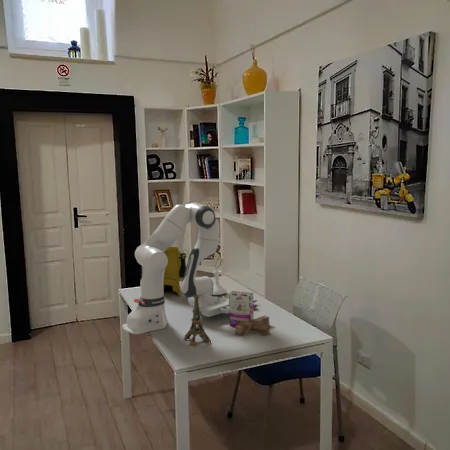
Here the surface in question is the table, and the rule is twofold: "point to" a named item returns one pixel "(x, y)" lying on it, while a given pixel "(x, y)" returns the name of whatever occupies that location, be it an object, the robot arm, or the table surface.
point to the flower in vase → (217, 287)
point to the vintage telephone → (174, 269)
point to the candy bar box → (240, 307)
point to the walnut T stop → (254, 326)
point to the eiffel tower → (194, 329)
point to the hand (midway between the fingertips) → (229, 311)
